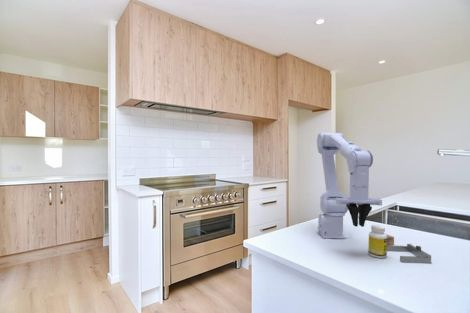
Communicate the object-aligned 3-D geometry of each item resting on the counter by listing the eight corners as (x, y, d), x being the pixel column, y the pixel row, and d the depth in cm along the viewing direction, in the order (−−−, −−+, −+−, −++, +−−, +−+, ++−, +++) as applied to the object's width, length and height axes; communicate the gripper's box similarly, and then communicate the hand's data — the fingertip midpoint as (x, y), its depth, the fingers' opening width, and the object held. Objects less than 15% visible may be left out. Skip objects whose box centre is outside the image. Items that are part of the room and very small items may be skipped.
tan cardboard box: (381, 246, 90) (381, 238, 90) (372, 242, 94) (372, 234, 94) (394, 244, 92) (394, 236, 92) (384, 241, 96) (384, 233, 96)
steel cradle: (401, 262, 77) (402, 251, 77) (384, 249, 87) (384, 240, 87) (431, 263, 77) (431, 252, 76) (409, 250, 87) (410, 241, 86)
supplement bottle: (386, 260, 78) (387, 230, 78) (367, 256, 81) (368, 227, 81) (386, 254, 83) (387, 226, 83) (368, 250, 86) (369, 223, 86)
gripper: (341, 187, 79) (341, 228, 79) (387, 188, 78) (386, 230, 78) (334, 184, 86) (333, 222, 86) (376, 185, 85) (375, 223, 85)
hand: (358, 225), depth 82 cm, fingers closed
